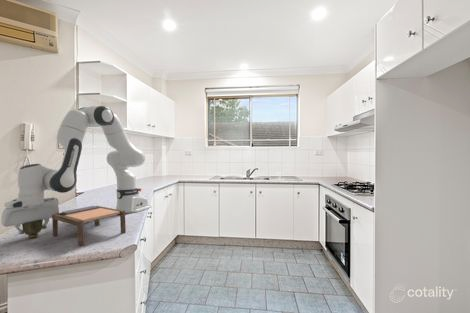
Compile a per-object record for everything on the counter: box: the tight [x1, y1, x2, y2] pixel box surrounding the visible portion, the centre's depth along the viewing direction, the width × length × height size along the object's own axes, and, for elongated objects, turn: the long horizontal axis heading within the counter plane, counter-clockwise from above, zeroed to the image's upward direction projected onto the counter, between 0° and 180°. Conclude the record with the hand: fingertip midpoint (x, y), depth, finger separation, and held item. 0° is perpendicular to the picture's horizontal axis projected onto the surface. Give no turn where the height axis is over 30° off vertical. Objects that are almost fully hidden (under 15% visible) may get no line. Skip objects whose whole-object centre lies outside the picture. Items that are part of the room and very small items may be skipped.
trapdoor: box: [61, 205, 120, 222], centre depth 113 cm, size 16×21×2 cm
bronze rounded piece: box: [21, 219, 44, 239], centre depth 111 cm, size 8×7×8 cm
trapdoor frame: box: [51, 205, 127, 247], centre depth 114 cm, size 20×24×10 cm
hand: (32, 231), depth 111 cm, fingers closed on bronze rounded piece, 7 cm apart
